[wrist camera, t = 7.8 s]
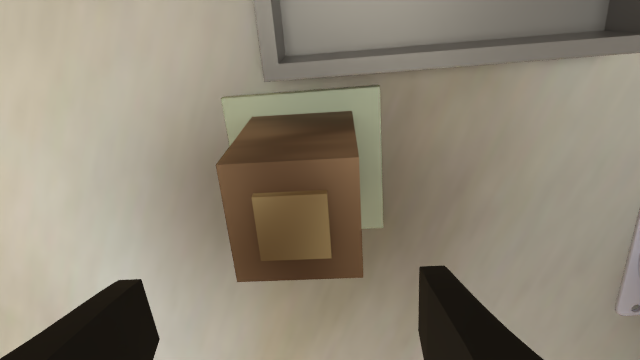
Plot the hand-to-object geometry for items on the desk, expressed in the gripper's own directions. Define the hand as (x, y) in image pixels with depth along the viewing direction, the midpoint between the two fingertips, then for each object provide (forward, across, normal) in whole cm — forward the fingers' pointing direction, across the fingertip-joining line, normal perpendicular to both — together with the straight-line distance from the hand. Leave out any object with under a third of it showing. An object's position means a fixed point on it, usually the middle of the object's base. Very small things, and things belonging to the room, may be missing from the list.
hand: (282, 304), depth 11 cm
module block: (+10, 0, 0) cm, 10 cm away
